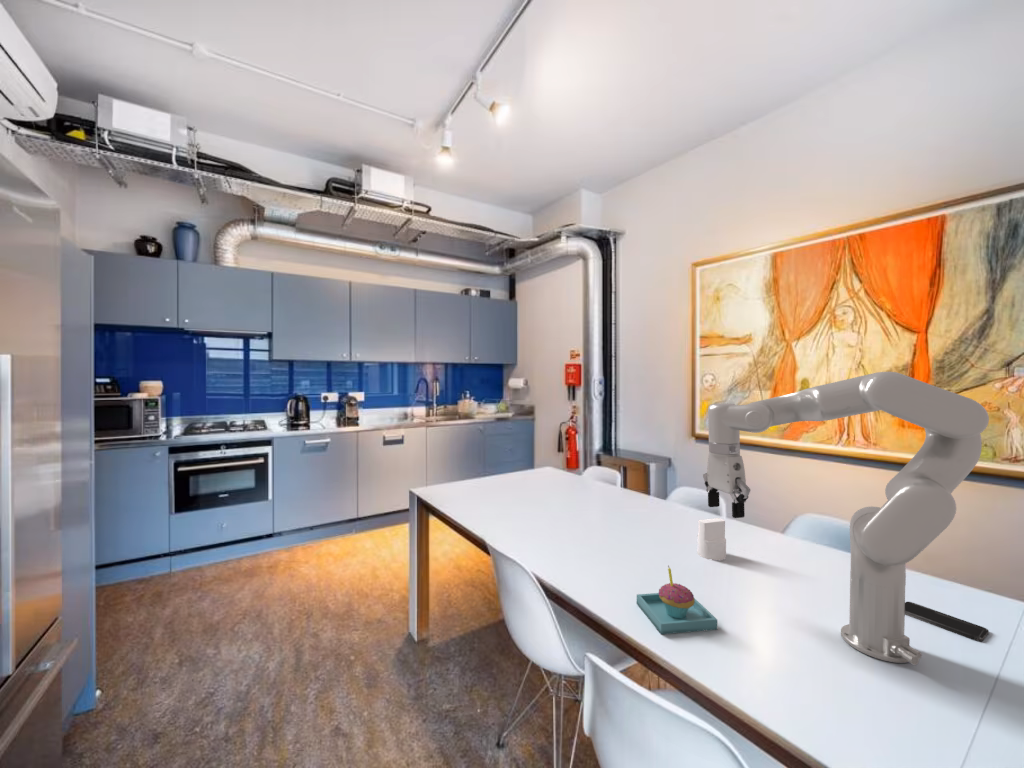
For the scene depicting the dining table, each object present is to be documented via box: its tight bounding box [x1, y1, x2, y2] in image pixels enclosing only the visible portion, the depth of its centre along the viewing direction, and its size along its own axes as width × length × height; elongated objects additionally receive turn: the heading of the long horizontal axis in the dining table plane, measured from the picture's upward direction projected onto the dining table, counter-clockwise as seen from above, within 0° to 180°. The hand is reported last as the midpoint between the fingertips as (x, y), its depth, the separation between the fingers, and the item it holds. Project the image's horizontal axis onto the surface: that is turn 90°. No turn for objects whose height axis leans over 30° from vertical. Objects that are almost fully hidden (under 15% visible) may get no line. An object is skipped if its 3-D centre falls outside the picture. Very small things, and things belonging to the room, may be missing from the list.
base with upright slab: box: [696, 517, 727, 561], centre depth 144 cm, size 9×9×12 cm
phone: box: [905, 601, 990, 643], centre depth 105 cm, size 8×1×15 cm
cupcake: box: [658, 564, 695, 618], centre depth 107 cm, size 9×8×12 cm
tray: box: [636, 592, 718, 635], centre depth 107 cm, size 14×15×2 cm
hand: (725, 511), depth 113 cm, fingers open, 9 cm apart
